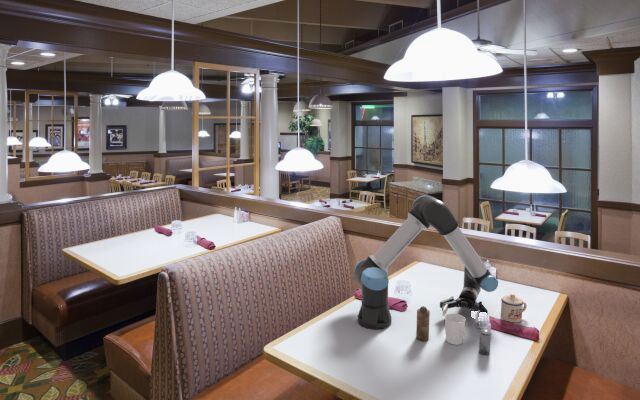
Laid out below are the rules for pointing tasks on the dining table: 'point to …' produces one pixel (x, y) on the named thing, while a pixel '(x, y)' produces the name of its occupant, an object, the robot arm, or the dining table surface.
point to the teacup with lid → (512, 308)
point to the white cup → (454, 328)
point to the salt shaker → (484, 342)
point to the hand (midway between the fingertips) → (459, 316)
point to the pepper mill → (422, 324)
